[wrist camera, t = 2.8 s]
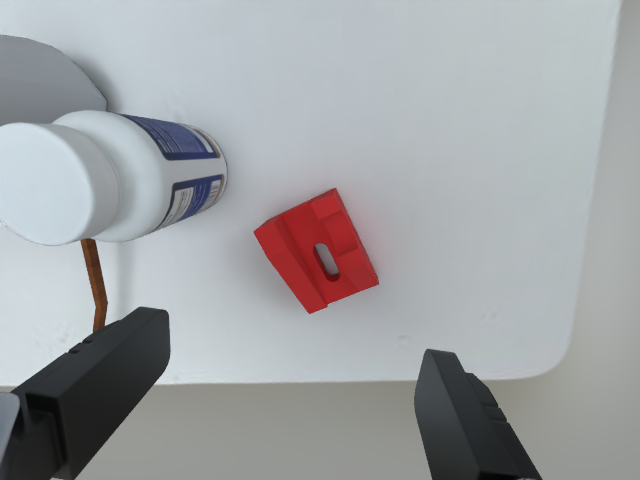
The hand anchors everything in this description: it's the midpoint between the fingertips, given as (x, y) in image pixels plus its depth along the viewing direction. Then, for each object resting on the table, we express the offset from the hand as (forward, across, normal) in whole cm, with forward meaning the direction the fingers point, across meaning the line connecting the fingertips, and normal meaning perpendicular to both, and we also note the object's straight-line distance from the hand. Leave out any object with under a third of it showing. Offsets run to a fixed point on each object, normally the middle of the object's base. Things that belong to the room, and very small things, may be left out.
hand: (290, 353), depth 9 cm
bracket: (+11, 0, 0) cm, 11 cm away
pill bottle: (+11, +9, -4) cm, 15 cm away
